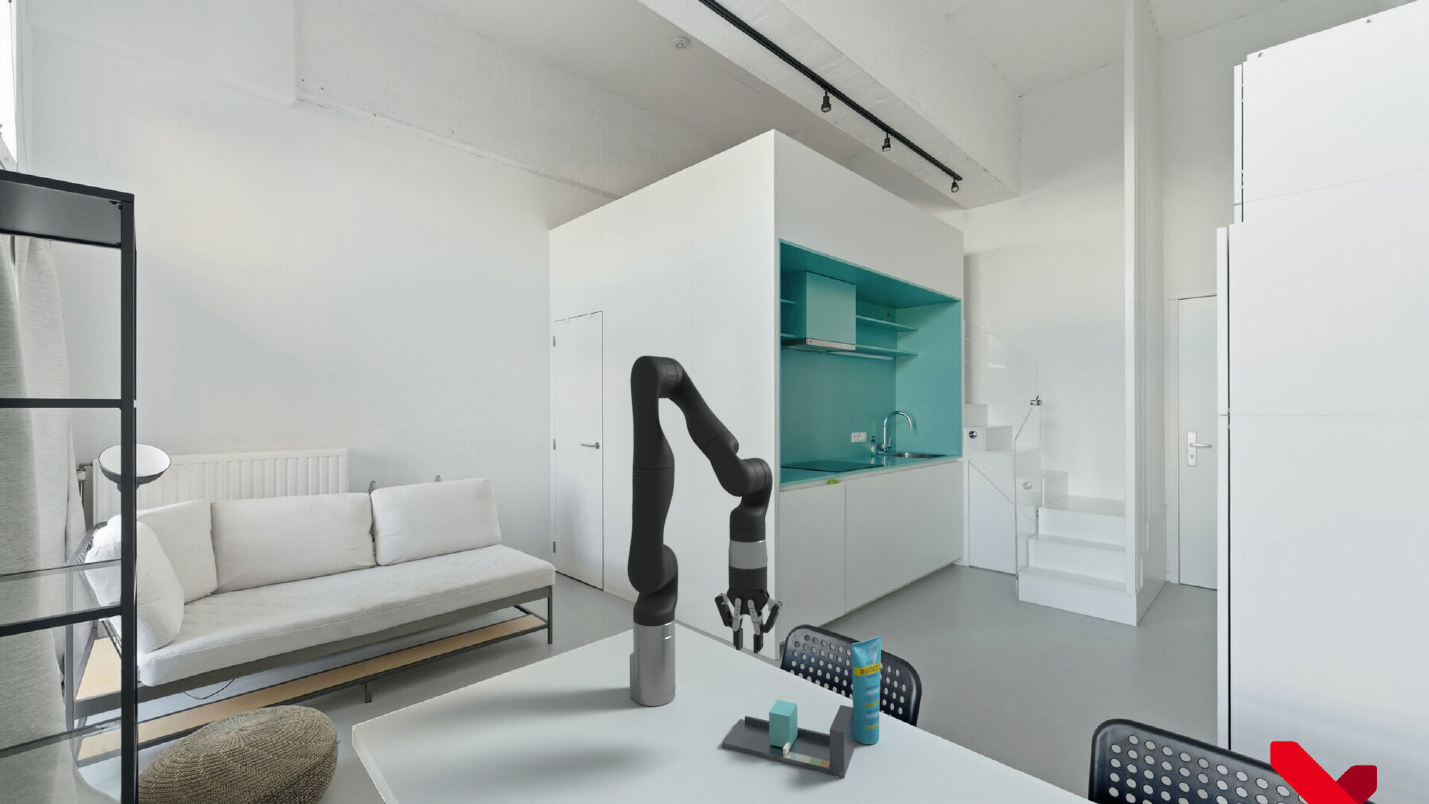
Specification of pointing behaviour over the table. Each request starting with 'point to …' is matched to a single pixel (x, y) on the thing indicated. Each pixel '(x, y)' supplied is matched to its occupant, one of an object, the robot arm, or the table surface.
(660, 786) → the table surface
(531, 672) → the table surface
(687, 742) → the table surface
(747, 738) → the base
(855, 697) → the tube
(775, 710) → the block
